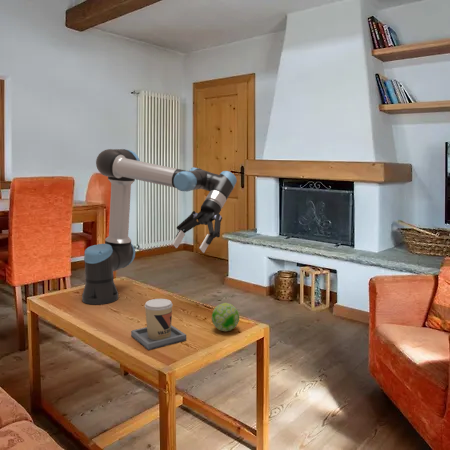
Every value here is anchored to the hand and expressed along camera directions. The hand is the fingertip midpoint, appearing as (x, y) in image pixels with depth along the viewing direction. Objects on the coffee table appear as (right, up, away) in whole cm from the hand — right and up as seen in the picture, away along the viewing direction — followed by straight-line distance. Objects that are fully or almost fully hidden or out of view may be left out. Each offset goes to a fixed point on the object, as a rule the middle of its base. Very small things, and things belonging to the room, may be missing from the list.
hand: (187, 248), depth 172 cm
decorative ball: (+14, -29, -7) cm, 33 cm away
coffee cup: (-9, -30, -14) cm, 34 cm away
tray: (-9, -30, -14) cm, 34 cm away
